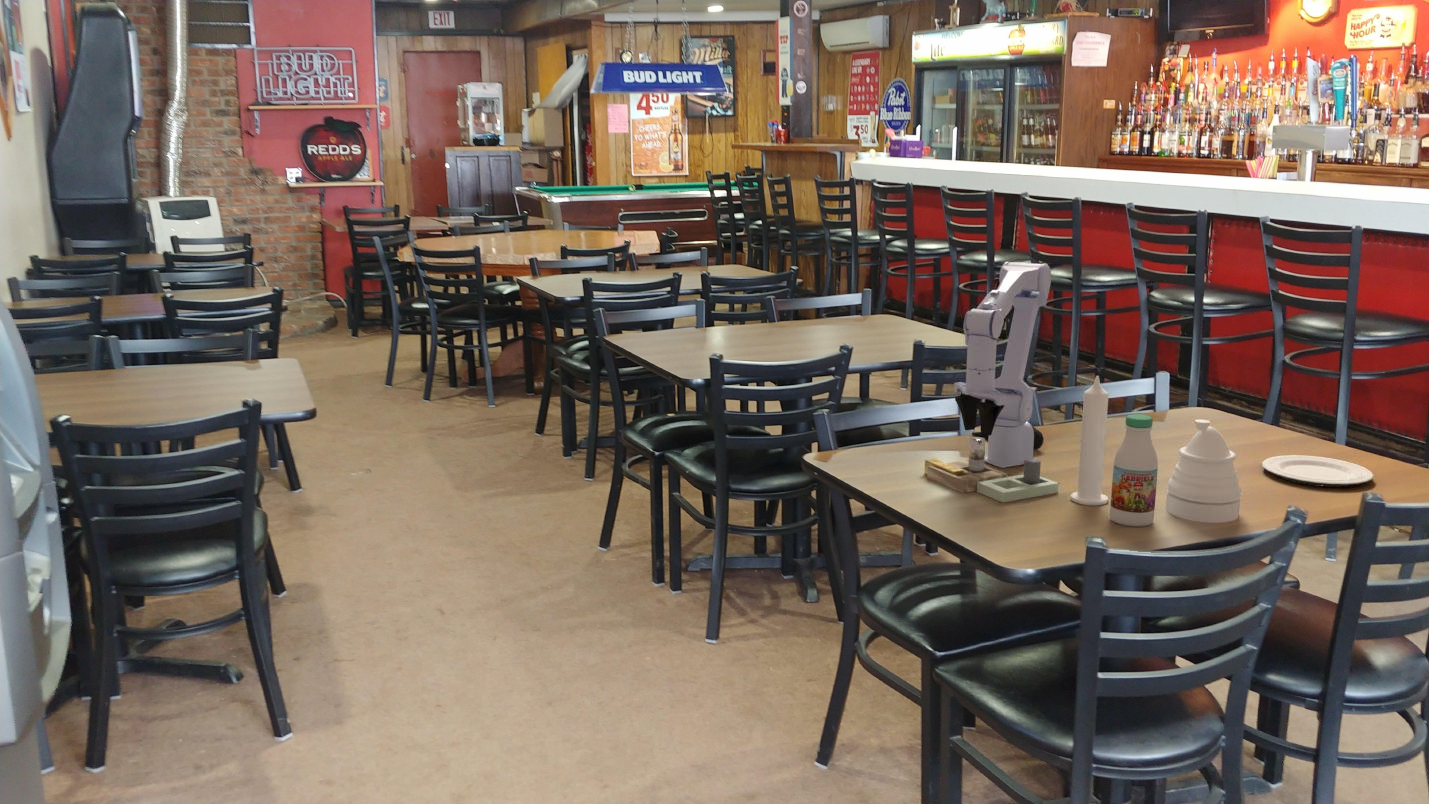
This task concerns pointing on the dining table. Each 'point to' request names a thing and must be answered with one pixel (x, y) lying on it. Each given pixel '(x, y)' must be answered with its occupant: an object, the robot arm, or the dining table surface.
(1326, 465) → the plate
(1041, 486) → the rack
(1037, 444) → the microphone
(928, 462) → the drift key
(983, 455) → the glass jar
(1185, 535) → the dining table surface
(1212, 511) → the honey pot
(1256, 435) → the dining table surface
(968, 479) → the socket block
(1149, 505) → the milk bottle
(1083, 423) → the candle
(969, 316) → the robot arm
